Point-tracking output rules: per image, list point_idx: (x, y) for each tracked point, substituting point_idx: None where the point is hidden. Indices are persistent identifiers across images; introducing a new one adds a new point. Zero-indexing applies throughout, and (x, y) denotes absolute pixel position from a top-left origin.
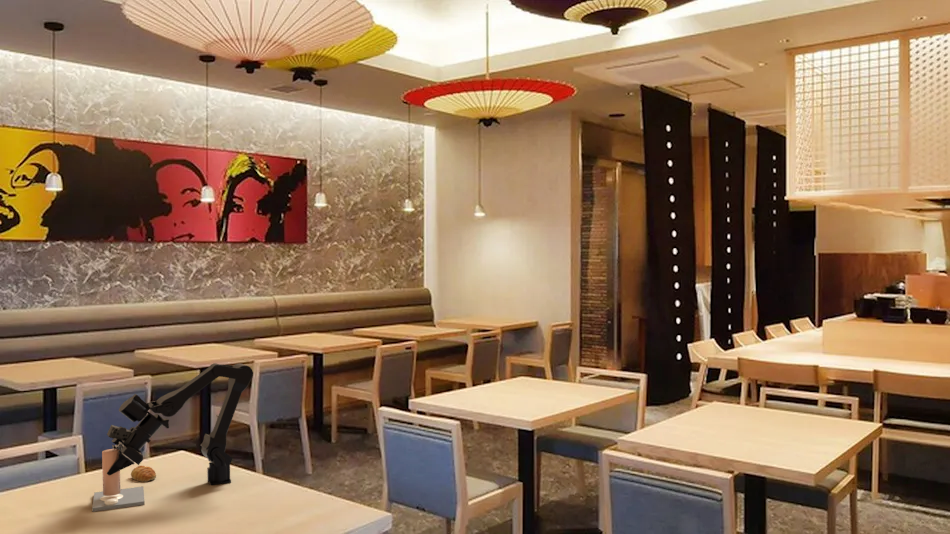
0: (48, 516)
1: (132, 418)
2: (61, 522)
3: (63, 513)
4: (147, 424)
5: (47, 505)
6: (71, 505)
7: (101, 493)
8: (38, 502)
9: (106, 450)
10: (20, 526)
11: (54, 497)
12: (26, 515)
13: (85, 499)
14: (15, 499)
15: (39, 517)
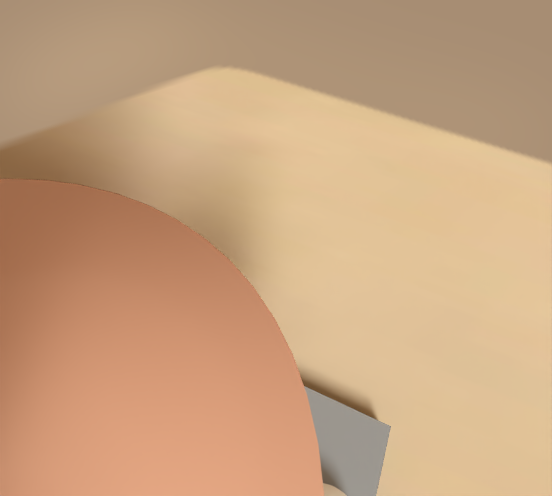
0: (212, 157)
1: None
2: (82, 152)
3: (197, 202)
4: None
5: (369, 208)
6: (289, 268)
7: (334, 454)
8: (438, 204)
9: (198, 387)
10: (184, 77)
11: (477, 270)
12: (294, 125)
13: (342, 357)
14: (529, 174)
15: (230, 137)
